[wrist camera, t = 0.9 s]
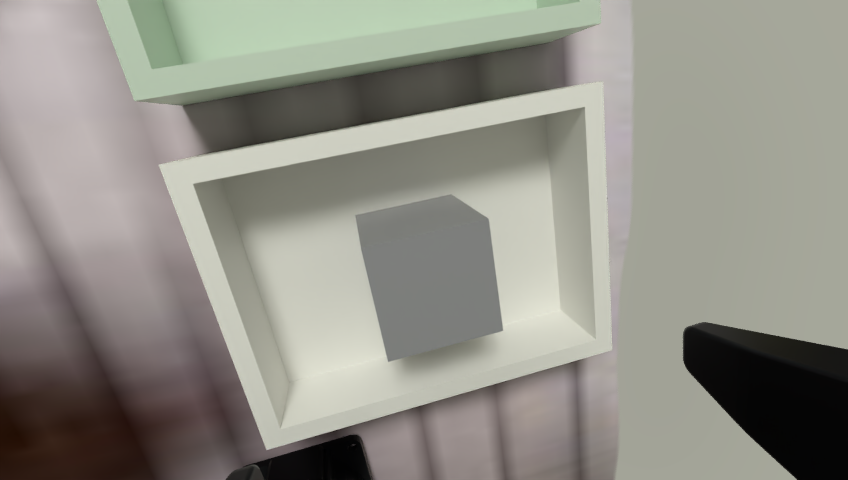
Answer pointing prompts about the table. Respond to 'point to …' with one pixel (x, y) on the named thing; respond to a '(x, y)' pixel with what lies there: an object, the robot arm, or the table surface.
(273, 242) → the cream bin
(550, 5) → the green bin
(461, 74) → the table surface
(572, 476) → the table surface
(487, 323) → the stone block
